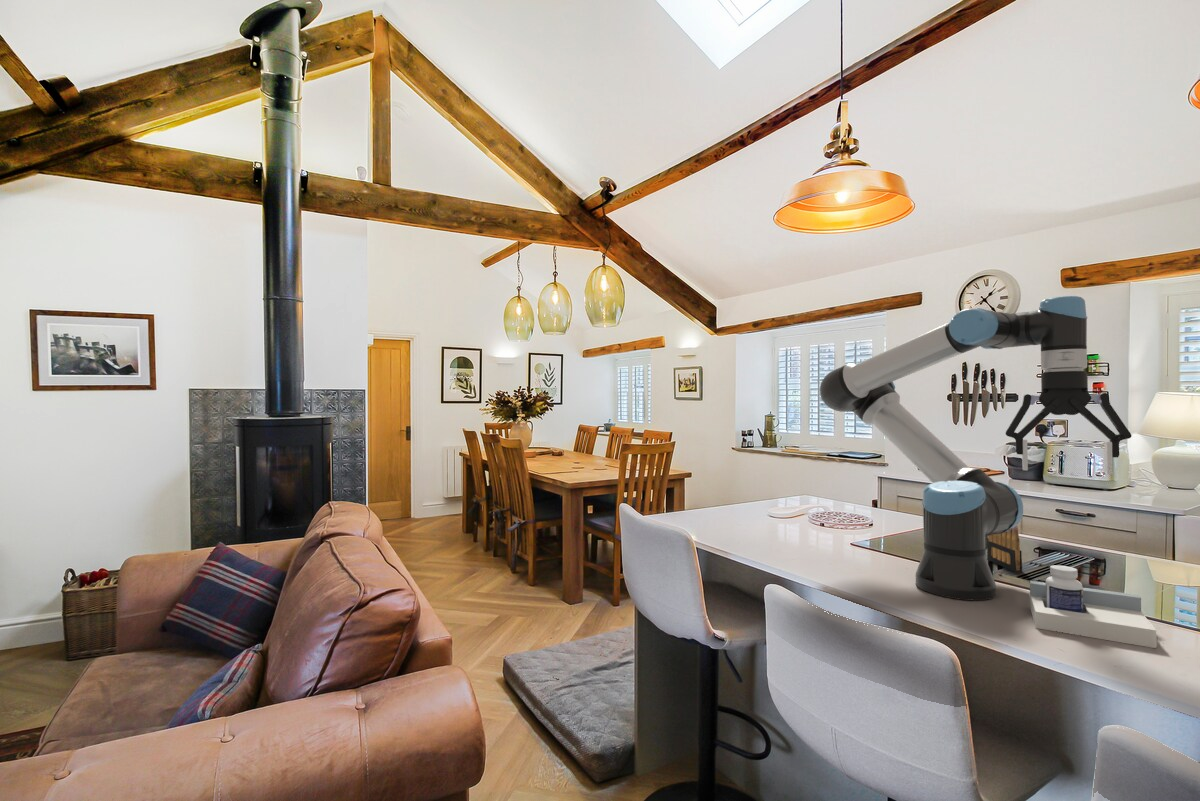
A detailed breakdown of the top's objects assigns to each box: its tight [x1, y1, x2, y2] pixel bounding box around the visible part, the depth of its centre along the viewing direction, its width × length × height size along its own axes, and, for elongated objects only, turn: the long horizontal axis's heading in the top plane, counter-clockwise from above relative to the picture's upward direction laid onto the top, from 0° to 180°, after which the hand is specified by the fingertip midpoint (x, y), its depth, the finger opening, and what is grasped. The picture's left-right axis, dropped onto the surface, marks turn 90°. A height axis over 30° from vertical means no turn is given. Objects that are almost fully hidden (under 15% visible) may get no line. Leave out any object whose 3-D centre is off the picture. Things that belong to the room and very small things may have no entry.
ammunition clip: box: [986, 524, 1023, 573], centre depth 142 cm, size 11×2×12 cm, turn 177°
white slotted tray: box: [1029, 580, 1157, 649], centre depth 103 cm, size 16×12×6 cm
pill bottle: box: [1045, 564, 1084, 613], centre depth 106 cm, size 5×5×10 cm
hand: (1065, 471), depth 118 cm, fingers open, 13 cm apart
